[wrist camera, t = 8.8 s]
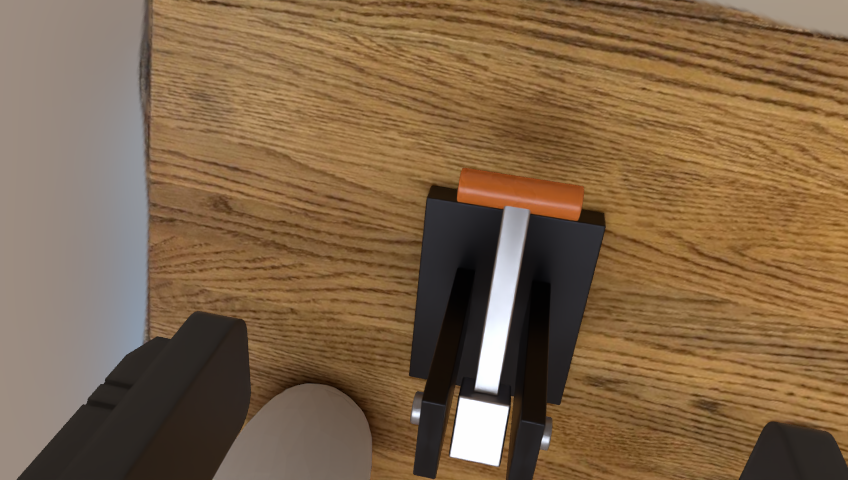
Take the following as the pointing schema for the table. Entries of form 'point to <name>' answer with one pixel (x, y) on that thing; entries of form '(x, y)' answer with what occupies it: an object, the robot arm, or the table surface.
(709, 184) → the table surface
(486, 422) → the switch
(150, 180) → the table surface
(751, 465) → the robot arm
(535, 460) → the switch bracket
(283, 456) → the mug
